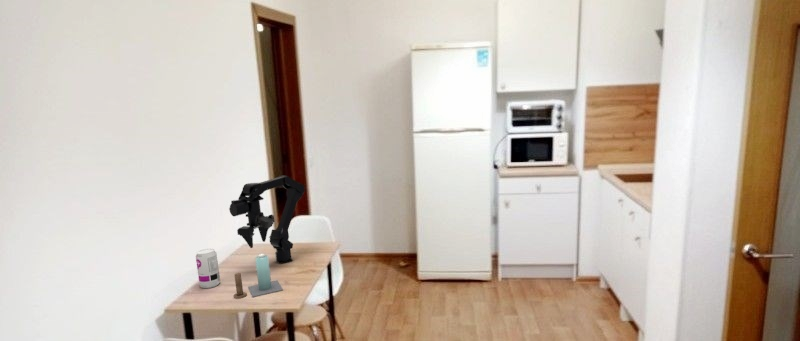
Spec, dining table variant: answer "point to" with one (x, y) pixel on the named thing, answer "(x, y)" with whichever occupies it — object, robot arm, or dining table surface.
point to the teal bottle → (263, 272)
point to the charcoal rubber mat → (256, 292)
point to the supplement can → (207, 268)
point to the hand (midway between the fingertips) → (257, 244)
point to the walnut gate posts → (239, 287)
